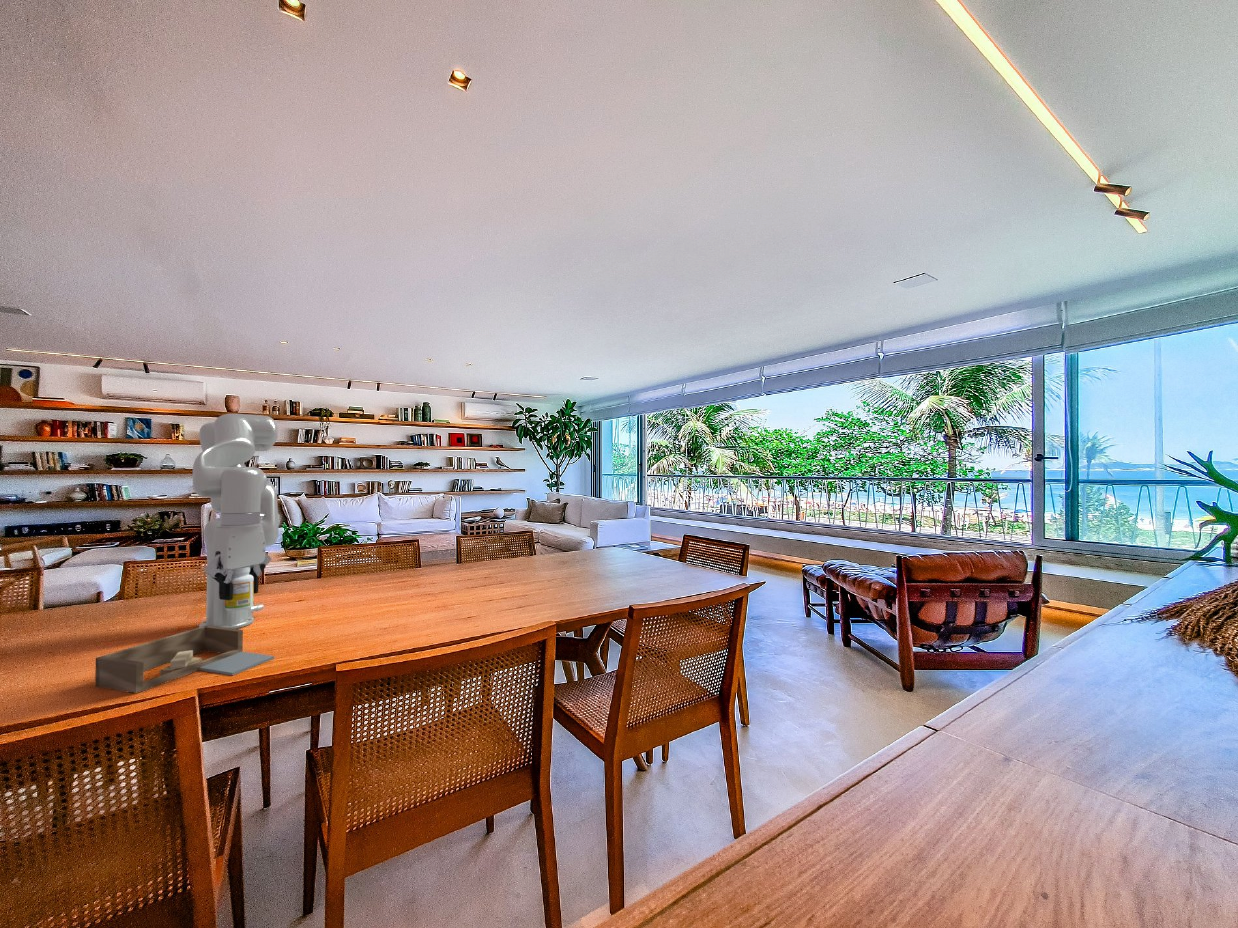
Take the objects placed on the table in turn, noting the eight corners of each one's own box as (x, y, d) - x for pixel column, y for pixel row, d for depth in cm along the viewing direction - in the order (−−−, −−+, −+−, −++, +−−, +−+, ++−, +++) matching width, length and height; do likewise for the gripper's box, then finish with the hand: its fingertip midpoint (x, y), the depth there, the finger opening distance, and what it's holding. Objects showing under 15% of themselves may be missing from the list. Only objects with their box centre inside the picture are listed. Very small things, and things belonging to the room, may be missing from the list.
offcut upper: (178, 659, 113) (178, 651, 113) (192, 657, 115) (192, 650, 115) (170, 669, 108) (170, 661, 108) (185, 667, 109) (185, 659, 109)
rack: (206, 648, 124) (206, 625, 124) (242, 653, 121) (242, 629, 121) (95, 686, 103) (95, 657, 103) (135, 693, 100) (136, 664, 100)
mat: (242, 653, 121) (242, 651, 121) (274, 658, 119) (274, 655, 119) (199, 670, 112) (199, 667, 112) (232, 675, 109) (232, 672, 109)
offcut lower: (190, 665, 115) (191, 657, 115) (201, 666, 115) (201, 657, 115) (160, 678, 108) (160, 669, 108) (171, 679, 108) (171, 670, 108)
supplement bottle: (235, 605, 118) (235, 565, 118) (259, 604, 118) (259, 564, 118) (219, 611, 112) (219, 569, 112) (243, 610, 113) (243, 569, 113)
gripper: (262, 515, 125) (261, 586, 124) (189, 523, 108) (187, 604, 108) (286, 517, 123) (284, 588, 123) (214, 524, 106) (213, 607, 106)
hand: (239, 595), depth 115 cm, fingers closed on supplement bottle, 5 cm apart
